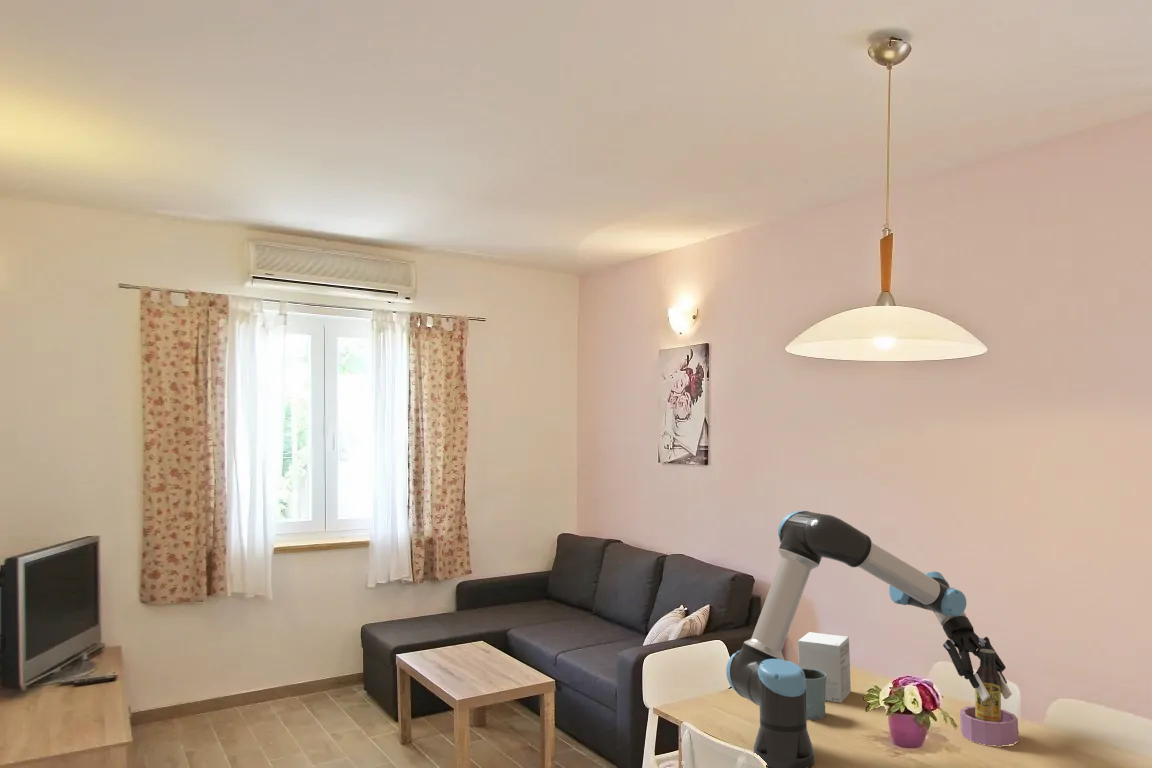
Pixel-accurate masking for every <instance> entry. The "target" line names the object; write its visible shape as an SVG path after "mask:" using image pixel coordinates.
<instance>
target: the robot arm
mask: <svg viewBox="0 0 1152 768" xmlns="http://www.w3.org/2000/svg"><path fill="white" fill-rule="evenodd" d="M777 536H778V538H779V539H778V540H779V543H780V545H779V548H778V553H779V555H780V561H779V563H778V566H777V568H776V571H775V574H774V576H773V579H772V582H771V585H770V587H769V590H768V593H767V595H766V598H765V601H764V603H763V607H762V608H761V612H760V614H759V616H758V619H757V623H756V625H755V627H754V631H753V633H752V635H751V638H750V639H747V640H745V641H743V644H742V646H741V649H740V650H737V651H736V652H735V653H732V655H731V656H730V657H729V659H728V661H727V664H726V670H725V671H726V672H725V673H726V679H727V681H728V683H729V686H730V687H731V688H732V689H733V690H734V691H735V692H736V694H738V695H739V696H740V697H742V698H745V699H747V700H748V701H750V702H751V703H753V704H755V705H757V706H758V707H759V726H758V727H759V728H758V731H757V734H756V738H755V741H754V745H753V754H754V753H756V754H757V755H759V756H760V757H761V758H762V759H763V760H764V761H765V762H766V763H767V765H768V768H811V767H813V765H814V764H815V762H816V755H815V754H816V753H815V750H814V746H813V743H812V741H811V737H810V734H809V732H808V725H807V724H808V723H807V720H808V719H807V718H806V680H805V674H804V671H803V670H802V668H801V667H800V666H799V664H796V663H795V662H793V661H790V660H785V658H784V655H783V652H782V651H783V648H784V645H785V643H786V640H787V638H788V636H789V632H790V629H791V626H792V624H793V620H794V619H795V615H796V613H797V610H798V608H799V605H800V602H801V599H802V595H803V593H804V591H805V588H806V585H807V582H808V579H809V577H810V574H811V571H812V570H814V569H815V568H817V567H818V568H819V566H820V563H821V561H822V558H825V559H830V560H833V561H837V562H839V563H843V564H845V565H847V566H849V567H850V568H860V569H861V570H863V571H864V572H866V573H868V574H870V575H871V576H874V577H875V578H877V579H879V580H880V581H883V582H884V583H886V584H888V585H889V586H888V588H889V589H888V593H889V597H890V600H891V601H892V602H893V603H895V604H897V605H903V606H907V605H908V606H913V607H916V608H918V609H919V608H920V609H923V610H927V611H932V612H933V613H934V615H935V617H936V618H937V620H938V622H939V624H940V626H941V627H942V629H943V631H944V634H945V635H946V637H947V638H948V639H946V640H945V642H944V643H943V644H942V647H943V648H944V649H945V650H946V652H947V653H948V655H949V657H950V659H951V661H952V664H953V665H954V668H955V669H956V672H957V674H958V675H959V676H960V677H963V676H964V677H963V678H964V679H965V680H968V681H969V683H970V685H971V686H972V688H973V689H975V688H976V690H977V692H978V694H979V695H980V697H981V699H982V701H986V700H987V698H988V697H989V696H990V695H989V693H988V692H987V690H986V688H985V686H984V685H983V683H982V681H981V679H980V677H979V676H978V674H977V673H976V672H975V673H974V667H973V665H972V659H971V656H970V653H971V654H972V655H974V656H976V657H977V658H978V659H979V660H980V655H979V650H980V649H989V650H993V651H995V652H996V650H995V649H994V647H993V645H992V644H991V642H990V638H989V637H987V636H985V637H983V638H982V637H979V635H977V634H976V633H975V630H974V627H973V624H972V623H971V621H970V619H969V617H967V614H966V612H965V610H966V608H967V598H966V595H965V594H964V593H963V592H962V591H961V590H959V589H957V588H955V587H951V586H950V584H949V583H948V581H947V580H946V579H945V577H944V576H943V574H942V573H940V572H938V571H935V570H934V571H933V570H932V571H931V572H926V573H924V572H923V571H921V570H919V569H918V568H916V567H914V566H912V565H910V564H909V563H907V562H906V561H904V560H902V559H900V558H899V557H897V556H895V555H894V554H892V553H890V552H889V551H888V550H885V549H884V548H882V547H880V546H878V544H875V543H874V542H873V541H872V539H871V537H870V536H869V535H867V534H865V533H864V532H862V531H860V530H859V529H857V528H856V527H854V526H853V525H851V524H850V523H848V522H847V521H844V520H842V519H841V518H838V517H837V516H835V515H831V514H827V513H826V514H823V513H818V512H812V511H808V510H796V511H792V512H791V513H788V514H787V515H785V517H783V519H782V520H781V521H780V524H779V525H778V530H777ZM995 666H996V670H997V672H998V674H999V675H1000V687H1001V696H1002V697H1003V699H1004V700H1008V699H1009V698H1010V697H1011V696H1012V695H1013V693H1012V691H1011V690H1010V688H1009V687H1008V681H1007V679H1006V678H1005V676H1004V675H1003V672H1004V671H1005V670H1006V665H1005V664H1004V662H1003V660H1002V659H1001V658H1000V656H999V655H998V653H997V652H996V658H995Z"/></svg>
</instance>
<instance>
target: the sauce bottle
mask: <svg viewBox="0 0 1152 768" xmlns="http://www.w3.org/2000/svg"><path fill="white" fill-rule="evenodd" d="M996 653H997V651H996V650H995V651H993V650H989V649H980V650H979V655H980V659H979V667H978V668H977V670H976V672H975V673H977V674H978V676H979V677H980V679H981V681H982V683H983V685H984V686H985V688H986V690H987V692H988V693H989V695H990V696H989V697H988V698H987V700H986V701H982V699H981V697H980V695H979V694H978V692H977V690H976V688H974V690H975V691H974V696H975V697H974V698H975V700H974V704H975V705H974V706H975V716H976V719H979V720H983V721H989V722H1001V709H1002V693H1001V687H1000V675H999V674H998V672H997V670H996V666H995V658H996Z"/></svg>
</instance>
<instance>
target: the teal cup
mask: <svg viewBox="0 0 1152 768" xmlns="http://www.w3.org/2000/svg"><path fill="white" fill-rule="evenodd" d="M802 670H803V671H804V674H805V680H806V718H807V720H811V719H812V721H813V720H821V719H824V718H825V716H826V700H825V696H826V693H825V692H826V673H824V672H822V671H820V670H816V669H808V668H802Z"/></svg>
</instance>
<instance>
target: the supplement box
mask: <svg viewBox="0 0 1152 768" xmlns="http://www.w3.org/2000/svg"><path fill="white" fill-rule="evenodd" d="M797 649H798V650H797V652H798V653H797V654H798V666H800V667H801V668H808V669H816V670H820V671H822V672H824V673H826V692H825V693H826V696H825V701H826V700H827V701H828V702H832V701H833V702H832V703H839V704H840V703H842V702H843V701H844V700H845V699H846V698H847V697H848V696H849V695H850V693H851V692H852V691H851V690H852V688H851V687H852V686H851V683H852V682H851V661H850V660H851V659H850V657H851V656H850V655H851V654H850V653H851V652H850V637H849V636H846V635H845V636H844V635H835V634H829V633H828V634H827V633H820V632H812V631H808V632H807V633H806V634H805V635H804V636H802V637H801V638H800V639H798V640H797ZM827 701H826V702H827Z"/></svg>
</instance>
